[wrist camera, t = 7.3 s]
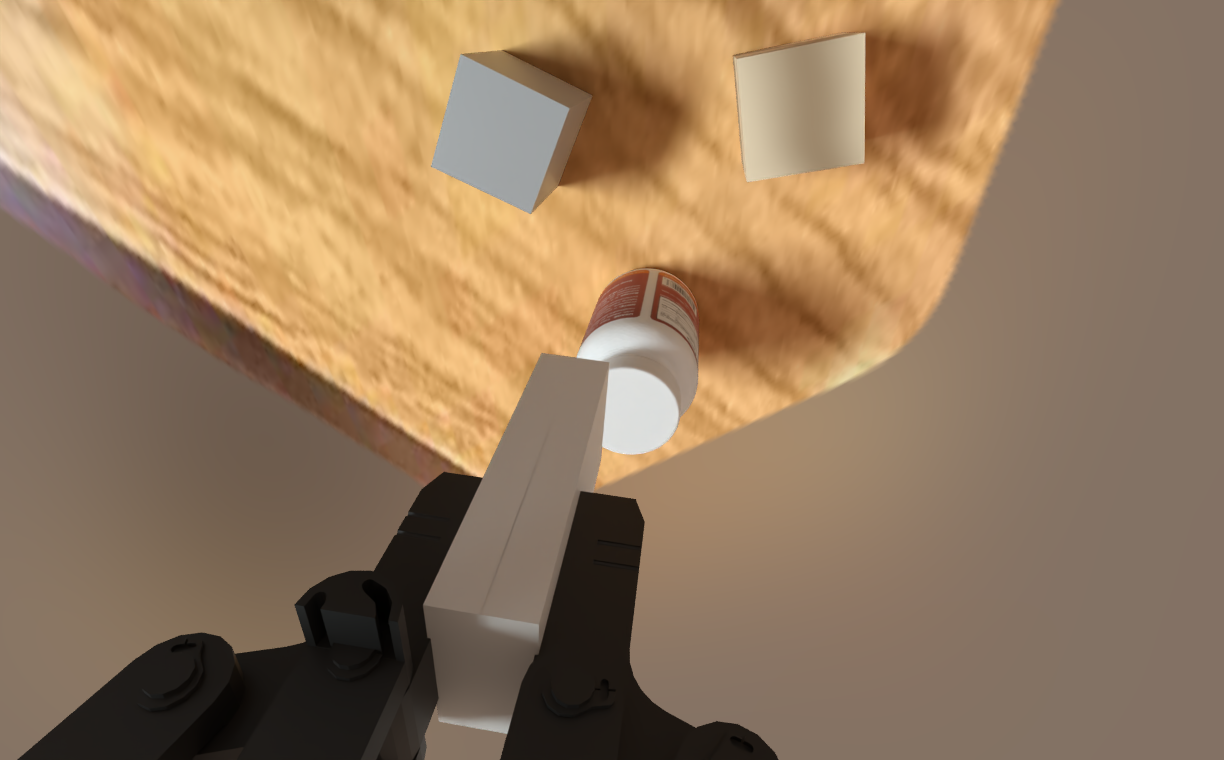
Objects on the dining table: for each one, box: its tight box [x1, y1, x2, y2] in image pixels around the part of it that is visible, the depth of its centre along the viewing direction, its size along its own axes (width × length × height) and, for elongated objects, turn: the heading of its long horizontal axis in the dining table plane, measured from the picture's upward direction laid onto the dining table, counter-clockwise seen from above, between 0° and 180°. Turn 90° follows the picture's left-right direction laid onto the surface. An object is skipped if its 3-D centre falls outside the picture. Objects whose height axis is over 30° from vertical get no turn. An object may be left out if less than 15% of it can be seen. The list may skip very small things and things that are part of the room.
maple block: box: [733, 33, 865, 182], centre depth 28 cm, size 5×5×5 cm
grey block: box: [431, 50, 593, 214], centre depth 29 cm, size 5×5×6 cm
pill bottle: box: [577, 268, 699, 454], centre depth 32 cm, size 6×6×11 cm
